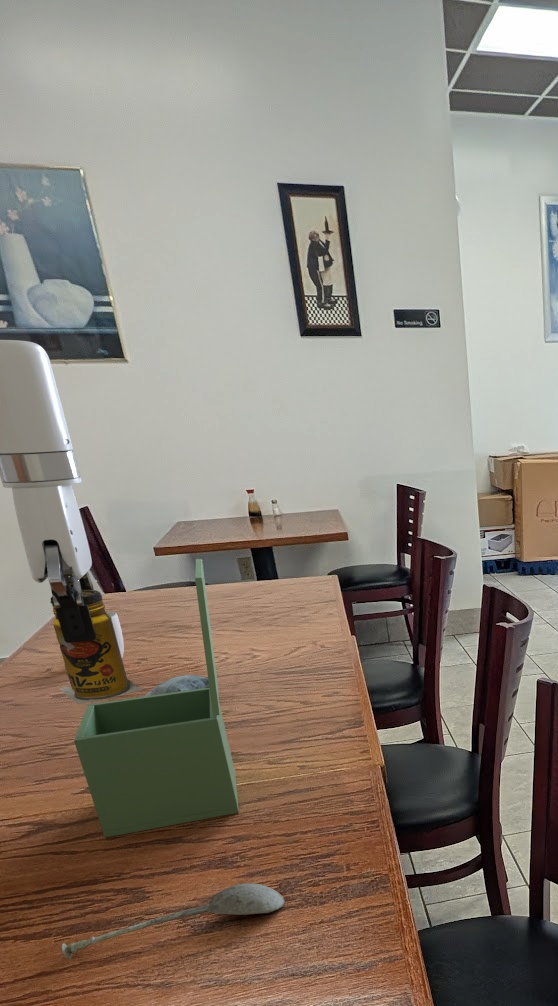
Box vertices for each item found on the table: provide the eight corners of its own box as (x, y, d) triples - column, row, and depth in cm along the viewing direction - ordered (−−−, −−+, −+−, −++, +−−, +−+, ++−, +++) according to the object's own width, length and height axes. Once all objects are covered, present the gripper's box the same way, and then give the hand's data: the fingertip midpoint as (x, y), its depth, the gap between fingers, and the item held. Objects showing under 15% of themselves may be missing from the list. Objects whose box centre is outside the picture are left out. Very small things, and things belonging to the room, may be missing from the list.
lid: (194, 577, 100) (202, 577, 100) (195, 558, 112) (202, 558, 112) (213, 715, 107) (219, 715, 107) (212, 683, 119) (217, 683, 120)
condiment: (79, 706, 95) (50, 603, 90) (58, 689, 101) (30, 591, 96) (144, 691, 100) (120, 592, 95) (121, 676, 105) (97, 582, 100)
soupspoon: (290, 920, 91) (281, 894, 96) (285, 893, 89) (276, 868, 95) (63, 974, 82) (67, 942, 87) (54, 946, 80) (59, 915, 86)
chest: (104, 838, 108) (73, 740, 102) (114, 793, 120) (87, 704, 114) (239, 813, 113) (217, 718, 107) (235, 772, 126) (215, 686, 120)
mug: (125, 663, 182) (113, 618, 177) (80, 668, 179) (67, 623, 175) (133, 648, 193) (122, 606, 188) (91, 653, 190) (79, 610, 186)
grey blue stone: (141, 711, 152) (135, 686, 150) (185, 691, 162) (180, 667, 160) (180, 716, 150) (174, 690, 148) (222, 695, 160) (217, 670, 158)
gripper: (17, 467, 95) (62, 621, 103) (-21, 478, 80) (35, 657, 88) (89, 463, 97) (127, 614, 105) (65, 474, 83) (112, 648, 90)
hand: (85, 632), depth 96 cm, fingers closed on condiment, 6 cm apart
